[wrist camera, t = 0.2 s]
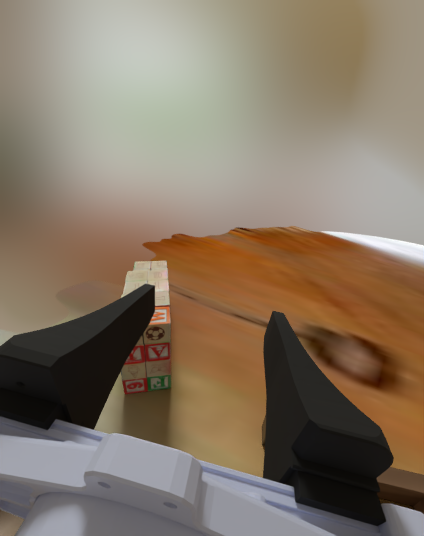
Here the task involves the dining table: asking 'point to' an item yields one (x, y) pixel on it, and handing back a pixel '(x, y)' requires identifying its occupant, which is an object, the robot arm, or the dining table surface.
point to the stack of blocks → (150, 333)
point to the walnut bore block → (402, 487)
